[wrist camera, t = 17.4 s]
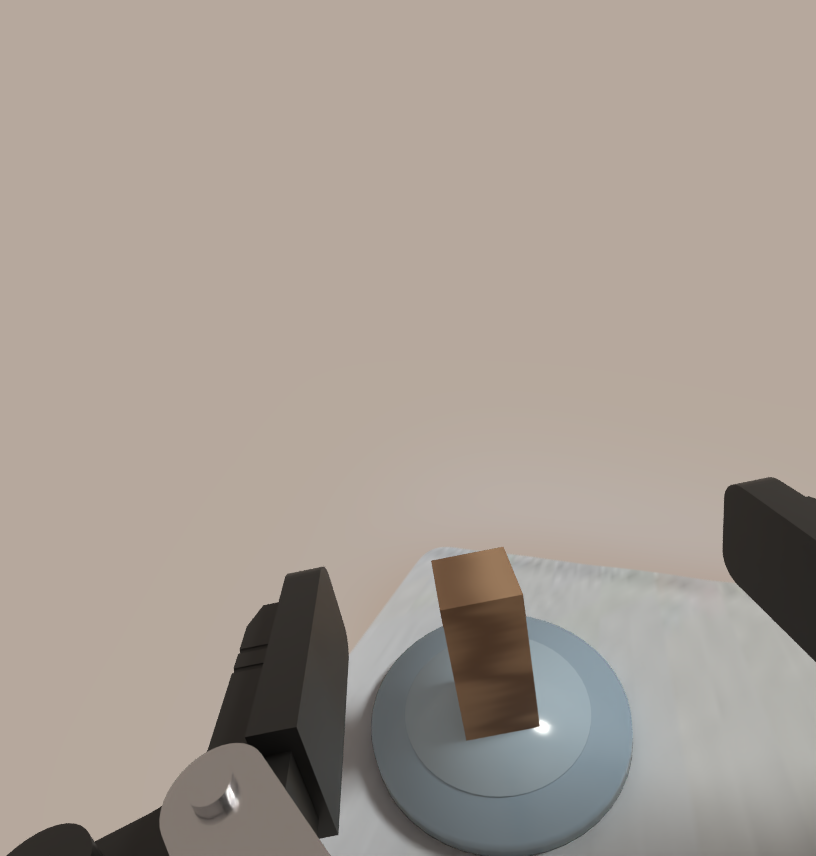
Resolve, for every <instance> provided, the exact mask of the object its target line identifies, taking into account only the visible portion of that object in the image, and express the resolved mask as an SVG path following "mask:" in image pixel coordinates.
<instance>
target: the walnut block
mask: <svg viewBox="0 0 816 856" xmlns="http://www.w3.org/2000/svg"><path fill="white" fill-rule="evenodd" d="M431 562H432V568H433V573H434V579H435V585H436V590H437V596H438V602H439V608H440V613H441V618H442V623H443V628H444V633H445V638H446V643H447V647H448V652H449V657H450V662H451V667H452V672H453V677H454V682H455V687H456V692H457V697H458V702H459V707H460V712H461V717H462V722H463V726H464V731H465V736H466V741H468V740H473V739H479V738H484V737H489V736H494V735H500V734H505V733H510V732H515V731H520V730H526V729H531V728H536V727H540V723H539V715H538V707H537V699H536V692H535V684H534V676H533V668H532V661H531V653H530V645H529V637H528V630H527V622H526V614H525V606H524V599H523V593H522V591H521V588H520V586H519V584H518V581H517V579H516V576H515V574H514V571H513V569H512V567H511V564H510V562H509V559H508V557H507V554H506V552H505V550H504V547H500V548H494V549H490V550H484V551H479V552H474V553H469V554H464V555H458V556H453V557H448V558H443V559H438V560H433V561H431Z"/></svg>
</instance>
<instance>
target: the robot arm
mask: <svg viewBox="0 0 816 856" xmlns="http://www.w3.org/2000/svg"><path fill="white" fill-rule="evenodd" d="M723 557H724V562H725V565H726V567H727V569H728V572H729V573H730V575H731V577H732V578H733V580H734V581H735V582H736V583H737V585H738V586H739V587H740V588H742V589H743V590H744V591H745V592H746V593H747V594H748V595H749V596H750V597H751V598H752V599H753V600H754V601H755V602H756V603H757V604H758V605H759V606H760V607H761V608H762V609H763V610H764V611H765V612H766V613H767V614H768V615H769V616H770V617H771V618H772V619H773V620H774V621H775V622H776V623H777V624H778V625H779V626H780V627H781V628H782V629H783V630H784V631H785V632H786V633H787V634H788V635H789V636H790V637H791V638H792V639H793V640H794V641H795V642H796V643H797V644H798V645H799V646H800V647H801V648H802V649H803V650H804V651H805V652H806V653H807V654H808V655H809V656H810V657H811V658H812V659H813V660H814V661H815V662H816V499H815V498H812V497H809V496H808V497H805V496H803V495H802V494H800V493H799V492H797V491H796V490H794V489H792V488H791V487H789V486H787V485H786V484H784V483H783V482H781V481H780V480H778V479H776V478H772V477H768V478H764V479H759V480H754V481H749V482H744V483H739V484H734V485H730V486H729V487H728V488H727V490H726V491H725V496H724V524H723ZM348 661H349V653H348V642H347V635H346V630H345V627H344V623H343V620H342V616H341V614H340V610H339V607H338V603H337V600H336V597H335V594H334V591H333V587H332V584H331V581H330V578H329V574H328V572H327V570H326V568H325V567H319V568H314V569H309V570H304V571H299V572H295V573H290V574H287V575H286V577H285V580H284V584H283V588H282V591H281V595H280V599H279V602H278V603H273V604H268V605H263V607H262V608H261V609H260V610H259V612H258V613H257V614H256V616H255V617H254V618H253V619H252V621H251V622H250V623H249V625H248V626H247V628H246V631H245V634H244V638H243V641H242V644H241V647H240V654H238V657H237V659H236V663H235V666H234V673H232V675H231V678H230V681H229V685H228V688H227V691H226V694H225V697H224V701H223V704H222V707H221V710H220V713H219V716H218V719H217V722H216V726H215V729H214V732H213V735H212V738H211V741H210V745H209V748H208V750H207V752H206V753H204V754H203V755H201V756H200V757H199V758H197V759H196V760H195V761H194V762H192V763H191V764H190V765H189V766H188V767H187V768H186V769H185V770H184V771H183V772H182V773H181V774H180V775H179V777H178V778H177V779H176V780H175V782H174V783H173V785H172V786H171V788H170V789H169V791H168V793H167V795H166V797H165V799H164V802H163V805H162V806H161V807H160V808H158V809H157V810H155V811H153V812H152V813H150V814H148V815H146V816H144V817H142V818H140V819H138V820H136V821H134V822H132V823H130V824H128V825H126V826H124V827H123V828H121V829H119V830H116V831H115V832H113V833H111V834H109V835H107V836H105V837H103V838H101V839H99V840H97V841H95V842H94V840H93V839H92V837H91V836H90V834H89V833H88V831H87V830H86V829H85V828H83V827H82V826H81V825H77V824H70V823H68V824H67V823H66V824H60V825H56V826H53V827H50V828H47V829H45V830H43V831H41V832H39V833H37V834H35V835H34V836H32V837H31V838H29V839H27V840H26V841H24V842H23V843H22V844H20V845H19V846H18V847H16V848H15V849H14V850H13V851H12V852H10V853H9V854H8V855H7V856H331V855H330V854H329V853H328V851H327V850H326V848H325V847H324V845H323V844H322V842H321V841H320V840H319V839H320V838H325V837H330V836H335V835H338V831H339V814H340V797H341V780H342V763H343V746H344V729H345V712H346V695H347V678H348Z"/></svg>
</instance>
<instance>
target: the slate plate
mask: <svg viewBox="0 0 816 856" xmlns="http://www.w3.org/2000/svg"><path fill="white" fill-rule="evenodd" d="M526 622H527V630H528V637H529V645H530V653H531V661H532V668H533V676H534V684H535V692H536V699H537V707H538V715H539V723H540V727H536V728H531V729H526V730H520V731H515V732H510V733H505V734H500V735H494V736H489V737H484V738H479V739H473V740H468V741H466V736H465V731H464V726H463V722H462V717H461V712H460V707H459V702H458V697H457V692H456V687H455V682H454V677H453V672H452V667H451V662H450V657H449V652H448V647H447V643H446V638H445V633H444V628H443V626H442V627H440V628H438V629H436V630H434V631H432V632H430V633H429V634H427V635H425V636H424V637H422V638H421V639H419V640H418V641H416V642H415V643H414V644H413V645H412V646H410V647H409V648H408V649H407V650H406V651H405V652H404V653H403V654H402V655H401V656H400V657H399V658H398V659H397V660H396V662H395V663H394V664H393V666H392V667H391V668H390V670H389V671H388V673H387V675H386V676H385V678H384V680H383V682H382V684H381V686H380V688H379V691H378V693H377V696H376V700H375V703H374V707H373V713H372V721H371V732H372V743H373V749H374V754H375V757H376V760H377V764H378V767H379V770H380V773H381V776H382V779H383V781H384V783H385V785H386V787H387V789H388V791H389V793H390V795H391V797H392V798H393V800H394V801H395V802H396V804H397V805H398V807H399V808H400V809H401V810H402V812H403V813H404V814H405V815H406V816H407V817H408V818H409V819H410V820H411V821H412V822H413V823H414V824H415V825H417V826H418V827H419V828H421V829H422V830H423V831H424V832H426V833H427V834H428V835H430V836H432V837H434V838H435V839H437V840H439V841H441V842H442V843H444V844H446V845H449V846H452V847H454V848H457V849H459V850H462V851H465V852H469V853H473V854H478V855H482V856H530V855H534V854H539V853H543V852H547V851H550V850H552V849H555V848H558V847H560V846H563V845H566V844H567V843H569V842H571V841H573V840H574V839H576V838H578V837H579V836H581V835H583V834H584V833H585V832H587V831H588V830H589V829H590V828H592V827H593V826H594V825H595V824H597V823H598V822H599V821H600V820H601V819H602V817H603V816H604V815H605V814H606V813H607V812H608V811H609V810H610V808H611V807H612V806H613V804H614V802H615V801H616V799H617V798H618V796H619V794H620V793H621V791H622V788H623V786H624V784H625V781H626V779H627V777H628V773H629V769H630V764H631V760H632V748H633V734H632V720H631V712H630V708H629V704H628V699H627V697H626V694H625V692H624V689H623V687H622V684H621V683H620V681H619V679H618V677H617V676H616V674H615V672H614V671H613V669H612V668H611V667H610V666H609V664H608V663H607V662H606V660H605V659H604V658H603V657H602V656H601V655H600V654H599V653H598V652H597V651H596V650H595V649H594V648H592V647H591V646H590V645H589V644H587V643H586V642H585V641H584V640H582V639H581V638H579V637H578V636H576V635H574V634H573V633H571V632H569V631H567V630H565V629H563V628H561V627H559V626H557V625H554V624H551V623H549V622H546V621H543V620H539V619H535V618H531V617H526Z"/></svg>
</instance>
